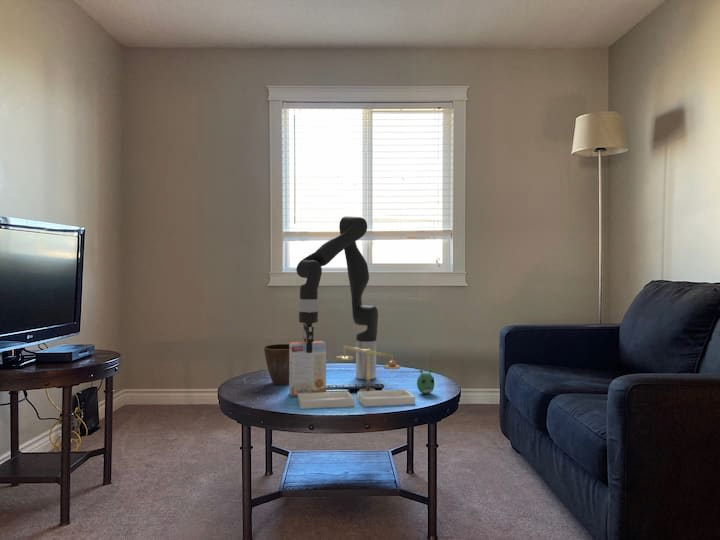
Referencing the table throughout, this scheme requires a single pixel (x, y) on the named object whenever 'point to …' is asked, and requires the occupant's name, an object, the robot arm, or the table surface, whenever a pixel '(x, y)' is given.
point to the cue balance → (390, 363)
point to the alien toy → (425, 382)
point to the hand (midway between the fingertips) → (307, 351)
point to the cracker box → (307, 368)
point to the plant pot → (278, 363)
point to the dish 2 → (385, 397)
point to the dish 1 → (325, 399)
